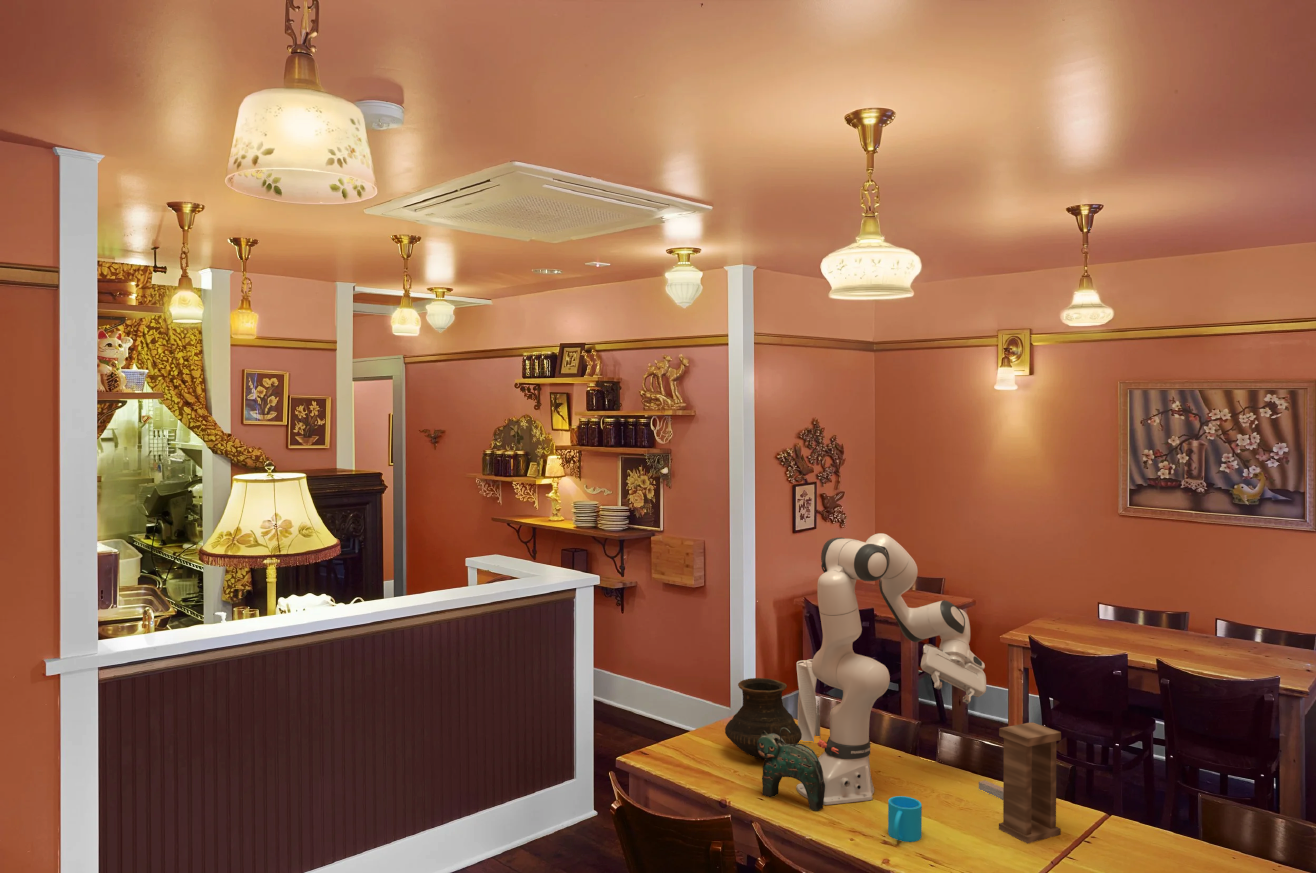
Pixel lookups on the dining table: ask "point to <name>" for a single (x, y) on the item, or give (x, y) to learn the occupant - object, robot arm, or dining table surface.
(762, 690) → the ceramic pot
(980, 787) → the crank handle
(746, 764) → the dining table surface
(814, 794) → the ceramic cat
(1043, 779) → the shelf stand
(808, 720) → the skyscraper
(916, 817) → the mug
